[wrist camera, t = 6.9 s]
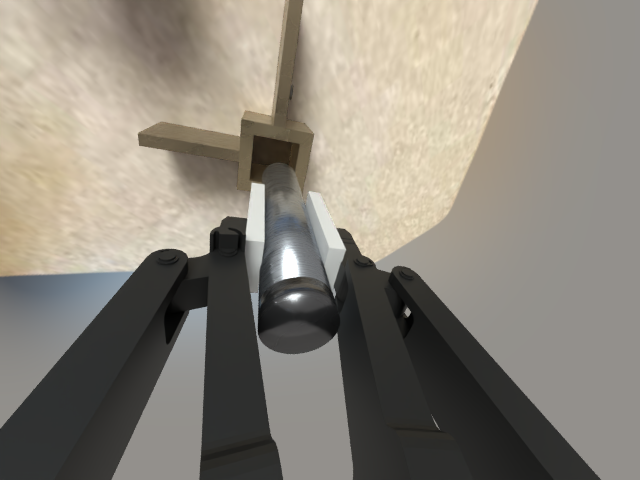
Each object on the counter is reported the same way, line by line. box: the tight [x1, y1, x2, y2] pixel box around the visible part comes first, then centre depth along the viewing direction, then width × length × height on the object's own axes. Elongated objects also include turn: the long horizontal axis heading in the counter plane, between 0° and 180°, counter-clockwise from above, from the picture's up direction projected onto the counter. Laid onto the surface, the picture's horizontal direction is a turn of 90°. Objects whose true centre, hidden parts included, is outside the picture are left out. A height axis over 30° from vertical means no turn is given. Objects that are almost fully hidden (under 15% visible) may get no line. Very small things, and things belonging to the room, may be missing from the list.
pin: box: [258, 163, 340, 354], centre depth 15 cm, size 3×3×15 cm
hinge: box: [138, 0, 314, 193], centre depth 24 cm, size 14×16×6 cm
